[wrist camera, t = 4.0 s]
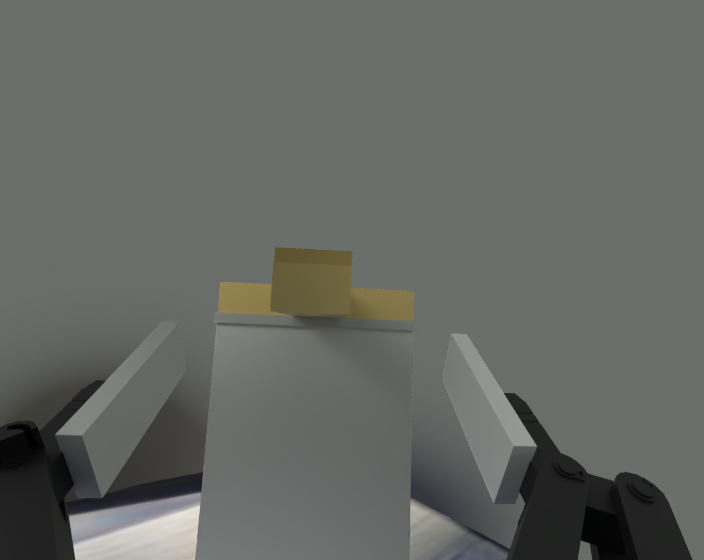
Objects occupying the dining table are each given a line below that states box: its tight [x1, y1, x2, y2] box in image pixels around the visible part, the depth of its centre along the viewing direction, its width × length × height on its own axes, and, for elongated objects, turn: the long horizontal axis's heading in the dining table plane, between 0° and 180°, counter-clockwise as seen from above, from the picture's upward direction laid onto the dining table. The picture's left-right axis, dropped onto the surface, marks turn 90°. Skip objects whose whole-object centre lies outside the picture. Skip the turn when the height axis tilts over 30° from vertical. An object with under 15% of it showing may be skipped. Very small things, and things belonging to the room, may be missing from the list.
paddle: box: [218, 247, 414, 321], centre depth 31 cm, size 27×16×3 cm, turn 4°
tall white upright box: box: [195, 313, 416, 560], centre depth 34 cm, size 16×16×30 cm
